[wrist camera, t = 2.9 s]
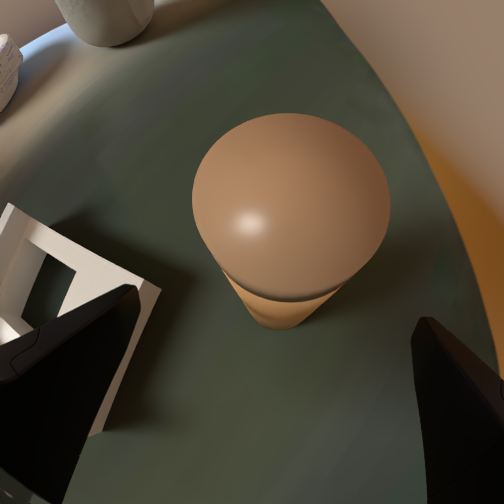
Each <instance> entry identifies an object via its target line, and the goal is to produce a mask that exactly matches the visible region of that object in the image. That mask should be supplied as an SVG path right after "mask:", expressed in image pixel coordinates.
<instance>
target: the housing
mask: <svg viewBox="0 0 504 504" xmlns="http://www.w3.org/2000/svg"><path fill="white" fill-rule="evenodd" d="M47 253H49V254H50V255H52V256H53V257H55V258H56V259H58V260H59V261H61V262H63V263H64V264H66V265H67V266H69V267H70V268H72V269H74V270H75V271H77V272H76V274H75V277H74V279H73V281H72V283H71V286H70V288H69V290H68V292H67V295H66V297H65V299H64V302H63V304H62V307H61V309H60V311H59V314H58V316H57V317H59V316H61V315H63V314H65V313H67V312H69V311H71V310H73V309H75V308H77V307H79V306H81V305H82V304H84V303H86V302H88V301H90V300H92V299H94V298H96V297H98V296H100V295H102V294H104V293H106V292H108V291H110V290H112V289H114V288H117V287H119V286H121V285H123V284H132V285H136V286H137V288H138V292H139V298H140V303H141V312H140V315H139V318H138V320H137V323H136V326H135V329H134V331H133V334H132V337H131V340H130V343H129V345H128V348H127V351H126V353H125V355H124V357H123V359H122V361H121V363H120V365H119V368H118V370H117V372H116V374H115V376H114V378H113V380H112V383H111V385H110V387H109V389H108V391H107V393H106V396H105V398H104V400H103V402H102V405H101V407H100V409H99V411H98V414H97V416H96V418H95V421H94V423H93V425H92V428H91V430H90V432H89V435H88V437H90V436H92V435H95V434H97V433H100V432H102V429H103V427H104V424H105V421H106V419H107V416H108V414H109V411H110V408H111V406H112V403H113V401H114V398H115V396H116V393H117V391H118V388H119V386H120V383H121V381H122V378H123V376H124V373H125V371H126V369H127V366H128V364H129V361H130V359H131V357H132V354H133V352H134V350H135V347H136V345H137V343H138V340H139V338H140V336H141V334H142V331H143V329H144V327H145V325H146V322H147V320H148V318H149V316H150V313H151V311H152V309H153V307H154V305H155V303H156V300H157V298H158V296H159V294H160V292H161V290H162V289H160V288H158V287H157V286H155V285H153V284H151V283H150V282H148V281H146V280H144V279H142V278H140V277H138V276H136V275H134V274H132V273H131V272H129V271H127V270H125V269H123V268H121V267H119V266H117V265H115V264H113V263H111V262H109V261H107V260H106V259H104V258H102V257H100V256H98V255H96V254H94V253H93V252H91V251H89V250H87V249H85V248H83V247H82V246H80V245H78V244H76V243H74V242H73V241H71V240H69V239H67V238H66V237H64V236H62V235H60V234H59V233H57V232H55V231H53V230H52V229H50V228H48V227H46V226H45V225H43V224H41V223H40V222H38V221H36V220H35V219H33V218H31V217H30V216H28V215H27V214H25V213H24V212H22V211H21V210H19V209H18V208H16V207H15V206H13V205H11V204H10V203H8V204H7V206H6V208H5V210H4V212H3V214H2V216H1V218H0V345H2V344H4V343H7V342H9V341H11V340H13V339H16V338H18V337H20V336H22V335H24V334H26V333H28V332H30V331H32V330H34V329H33V328H32V327H31V326H30V325H29V324H28V323H26V322H25V321H24V320H23V319H22V318H21V315H22V312H23V310H24V307H25V304H26V302H27V299H28V296H29V294H30V291H31V289H32V287H33V284H34V282H35V279H36V277H37V275H38V272H39V270H40V268H41V266H42V263H43V261H44V259H45V257H46V255H47Z"/></svg>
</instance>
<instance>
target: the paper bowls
mask: <svg viewBox="0 0 504 504" xmlns="http://www.w3.org/2000/svg"><path fill="white" fill-rule="evenodd" d="M22 62H23V55H22V53H21V52H20V50H19V49H18V47H17V46H16V44H15V43H14V42H13V40H12V39H11V37H10V35H8V34H2V35H0V113H1V112H2V110H3V109H4V108H5V106H6V105H7V104H8V102H9V101H10V99H11V98H12V96H13V94H14V92H15V90H16V88H17V84H18V71H19V69H20V67H21V64H22Z"/></svg>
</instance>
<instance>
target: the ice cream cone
mask: <svg viewBox="0 0 504 504" xmlns="http://www.w3.org/2000/svg"><path fill="white" fill-rule="evenodd" d="M192 205H193V213H194V218H195V221H196V225H197V228H198V230H199V232H200V235H201V237H202V239H203V240H204V242H205V243H206V245H207V247H208V248H209V250H210V251H211V253H212V255H213V256H214V258H215V259H216V261H217V262H218V264H219V266H220V267H221V269H222V270H223V272H224V273H225V275H226V277H227V278H228V280H229V281H230V283H231V284H232V286H233V287H234V289H235V291H236V292H237V294H238V295H239V297H240V298H241V300H242V301H243V303H244V304H245V306H246V307H247V309H248V310H249V312H250V314H251V315H252V317H253V318H254V319H255V320H256V321H257V322H258V323H259V324H261V325H262V326H264V327H266V328H269V329H273V330H286V329H290V328H293V327H295V326H297V325H298V324H299V323H301V322H302V321H303V320H304V319H305V318H307V317H308V316H309V315H310V314H311V313H312V312H313V311H315V310H316V309H317V308H318V307H319V306H320V305H321V304H323V303H324V302H325V301H326V300H327V299H328V298H329V297H330V296H331V295H333V294H334V293H335V292H336V291H337V290H338V289H339V288H340V287H341V286H342V285H344V284H345V283H346V282H347V281H348V280H349V279H350V278H351V277H352V276H353V275H354V274H355V273H356V272H358V271H359V270H360V269H361V268H362V267H363V266H364V265H365V264H366V263H367V262H368V261H369V260H370V259H371V258H372V256H373V255H374V254H375V252H376V251H377V249H378V248H379V246H380V244H381V242H382V241H383V239H384V236H385V233H386V231H387V228H388V224H389V218H390V207H391V201H390V192H389V188H388V184H387V180H386V177H385V175H384V172H383V170H382V168H381V166H380V165H379V163H378V161H377V159H376V158H375V157H374V155H373V154H372V153H371V151H370V150H369V149H368V148H367V147H366V146H365V145H364V144H363V143H362V142H361V141H360V140H359V139H358V138H357V137H355V136H354V135H353V134H351V133H350V132H349V131H347V130H346V129H344V128H342V127H340V126H338V125H336V124H334V123H332V122H330V121H327V120H324V119H321V118H318V117H314V116H310V115H304V114H293V113H284V114H273V115H266V116H263V117H259V118H255V119H252V120H250V121H247V122H245V123H243V124H241V125H239V126H237V127H235V128H233V129H232V130H231V131H229V132H228V133H226V134H225V135H224V136H222V137H221V138H220V139H219V140H218V141H217V142H216V143H215V144H214V145H213V146H212V147H211V149H210V150H209V151H208V153H207V154H206V156H205V157H204V158H203V160H202V162H201V164H200V166H199V168H198V171H197V174H196V177H195V180H194V186H193V194H192Z"/></svg>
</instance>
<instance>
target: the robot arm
mask: <svg viewBox="0 0 504 504" xmlns="http://www.w3.org/2000/svg"><path fill="white" fill-rule="evenodd" d="M140 312H141V303H140V298H139V292H138V288H137V286H136V285H132V284H123V285H121V286H119V287H117V288H114V289H112V290H110V291H108V292H106V293H104V294H102V295H100V296H98V297H96V298H94V299H92V300H90V301H88V302H86V303H84V304H82V305H81V306H79V307H77V308H75V309H73V310H71V311H69V312H67V313H65V314H63V315H61V316H59V317H57V318H55V319H53V320H51V321H49V322H47V323H45V324H43V325H42V326H41V327H38V328H36V329H34V330H32V331H30V332H28V333H26V334H24V335H22V336H20V337H18V338H16V339H13V340H11V341H9V342H7V343H4V344H2V345H0V504H30V503H29V502H30V500H31V498H32V496H33V494H35V495H36V496H38V497H40V498H41V499H43V500H45V501H46V502H48V503H50V504H62V502H63V499H64V496H65V494H66V491H67V488H68V486H69V483H70V480H71V478H72V475H73V472H74V470H75V467H76V465H77V462H78V460H79V457H80V456H79V455H80V454H81V452H82V449H83V447H84V444H85V442H86V439H87V437H88V435H89V432H90V430H91V428H92V425H93V423H94V421H95V418H96V416H97V414H98V411H99V409H100V407H101V405H102V402H103V400H104V398H105V396H106V393H107V391H108V389H109V387H110V385H111V383H112V380H113V378H114V376H115V374H116V372H117V370H118V368H119V365H120V363H121V361H122V359H123V357H124V355H125V353H126V351H127V348H128V345H129V343H130V340H131V337H132V334H133V331H134V329H135V326H136V323H137V320H138V318H139V315H140ZM411 350H412V361H413V373H414V384H415V390H416V396H417V402H418V409H419V416H420V423H421V430H422V439H423V448H424V458H425V469H426V484H427V498H428V499H427V504H504V380H503V379H501V377H500V376H499V375H497V374H496V373H495V372H494V371H493V370H492V369H491V368H490V367H489V366H488V365H487V364H486V363H484V362H483V361H482V360H481V359H480V358H479V357H478V356H477V355H476V354H474V353H473V352H472V351H471V350H470V349H469V348H468V347H467V346H465V345H464V344H463V343H462V342H461V341H460V340H459V339H458V338H456V337H455V336H454V335H453V334H452V333H451V332H449V331H448V330H447V329H446V328H445V327H444V326H442V325H441V324H440V323H439V322H438V321H437V320H435V319H434V318H433V317H421V318H420V319H419V321H418V323H417V325H416V327H415V330H414V332H413V334H412V337H411Z"/></svg>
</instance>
